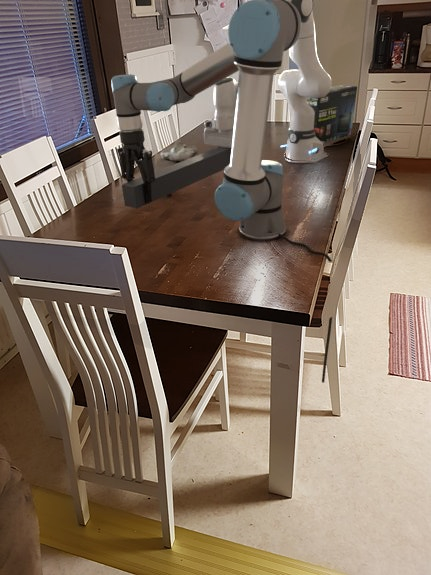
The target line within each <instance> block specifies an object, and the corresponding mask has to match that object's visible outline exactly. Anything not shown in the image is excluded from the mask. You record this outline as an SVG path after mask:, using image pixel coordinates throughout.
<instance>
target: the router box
mask: <svg viewBox="0 0 431 575" xmlns="http://www.w3.org/2000/svg"><path fill="white" fill-rule="evenodd" d="M357 93H358V86H356V85H350V84H339V85H338V84H337V85H334V86H331V89H330V91H329V93H328V94H327V95H326V96H325V97H320V98H307V97H306V99H307V102H308V104H309V105H310V106H311V107H312V108H313V109H314V112H315V116H314V129H315V128H318V129H319V133H316V132H315V134H316V137H317V138H318V139H319V140H320V141H321V142H322V143H323V144H325V143H328V142H331V141H333V140H336V139H338V138H341V137H344V136H347V135H351V136H352V134H351V132H353V125H354V115H355V109H356V99H357Z"/></svg>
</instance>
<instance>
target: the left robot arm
mask: <svg viewBox="0 0 431 575" xmlns="http://www.w3.org/2000/svg"><path fill="white" fill-rule="evenodd" d="M300 32H301V17H300V14H299V11H298V10H297V8H296V7H295V6H294V5H293V4H292V3H291V2H289V1H287V0H247V1H244V3H242V4H240V5H239V6H238V7H237V9H235V11H234V12H233V13H232V16H231V17H230V20H229V23H228V29H227V37H228V42H227V43H225V44H224V45H223V46H221V47H219V48H218V49H216V50H214V51H213V52H212V53H210V54H208V55H207V56H205V57H203V58H202V59H201V60H199V61H198V62H196V63H194V64H192V65H191V66H189V67H188V68H187V69H185V70H183V71H182V72H180V73H178V74H177V75H176V76H173V77H171V78H166V79H162V80H157V81H152V82H139V81H138V80H137V76H136V74H131V73H130V74H119V75H114V76H112V78H111V90H112V91H111V92H112V97H113V101H114V102H113V103H114V107H115V108H114V109H115V113H116V114H115V115H116V121H117V128H118V130H119V139H120V143H121V144H122V146H121V147H118V148H116V151H117V152H116V153H117V154H118V158H119V166H120V173H121V174H120V175H121V178H122V179H125V181H126V183H127V182H130V181H133V180H135V179H136V177H135V164H136V165H137V167H138V170H139V173H140V177H142V179H143V182H144V183H143V184H142V186H143V194H144V200H145V204H146V205H148V204H150V203H149V202H151V203H152V197H151V193H152V188H151V182H154V181H155V174H154V172H155V169H154V163H153V162H154V161H153V151H152V150H147V149H146V147H145V145H144V142H145V141H146V140H145V131H144V129H143V127H144V125H143V117H142V111H148V112H149V111H150V112H157V113H160V112H168V111H170V110H171V109H172V107H173V106H176V105H179V104H185V103H188V102H190V101H192V100H193V99H195V97H196V96H197V95H199V94H200V93H202V92H204V91H206V90H207V89H209V88H211V87H212V86H213V87H214V85H215V84H216V83H218V82H220V81H221V80H223V79H225V78H227V77H230V76H232V75H233V74H235V73H237V72H238V81H237V82H238V89H237V99H236V109H235V119H234V129H233V139H232V149H231V159H230V164H229V165H228V166H226V167H225V168H224V170H223V175H222V183H221V184H220V185H218V187H217V188H216V189H215V192H214V204H215V207H216V208H217V210H218V211H219V212H220V214H221V215H222V216H223V217H224V218H226V219H228V220H229V221H232V222H239V226H238V232H239V235H240V236H241V237H242V238H244V239H247V240H250V241H254V242H271V241H277V240H279V239H283V240H284V241H286V242H287V243H288V244H291V245H293V246H300V247H303V248H305V249H306V250H307V251H308V252H310V253H311V254H314V255H318V256H323V257H324V258H325V259H326V260H327V261H328V262H330V263H332V262H333V260H332V258H331V257H330V256H329V255H328V254H327V253H326V252H322V251H317V250H313V249H312V248H311V247H310V246H309V245H308V244H306V243H302V242H297V241H293V240H291V239H289V238H288V237H286V236H285V235H286V234H287V223H286V221H285V216H284V214H283V210H282V200H283V183H284V168H283V164H282V163H280V162H278V161H275V160H270V159H263V154H264V147H265V140H266V133H267V126H268V118H269V111H270V105H271V97H272V90H273V85H274V84H273V83H274V78H275V77H274V76H275V73H276V72H277V71H279V70H280V69H281V68H282V64H283V57H284V52H286V51H289V48H291V47H292V46H293V45H294V44H295V43H296V41H297V40H298V38H299V35H300ZM147 203H148V204H147ZM332 323H333V316H330V317H329V319H328V327H327V335H326V343H325V351H324V358H323V366H322V375H321V383H325V380H326V370H327V362H328V354H329V346H330V339H331V338H330V337H331V331H332Z"/></svg>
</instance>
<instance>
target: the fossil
mask: <svg viewBox="0 0 431 575" xmlns="http://www.w3.org/2000/svg"><path fill="white" fill-rule="evenodd" d="M198 153H199V150H198V148H197V146H195V145H188V146H187V145H186V143H184V142H183V143H181V142H176V143H175V145H174V146H173V147H172V148H171V149H170V150H168V149H165V150H162V151H161V152H160V156H161V158H162V159H163V160H169V161H174V162H177V161H179V162H182V161H184V160H187V159H189V158H192V157H194V155H197V154H198Z"/></svg>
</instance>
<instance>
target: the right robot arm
mask: <svg viewBox="0 0 431 575" xmlns="http://www.w3.org/2000/svg"><path fill="white" fill-rule="evenodd" d="M287 1H289V2H291V3H292V4H293V5H294V6H295V7H296V8H297V10H298V11H299V14H300V17H301V32H300V35H299V38H298V40H297V41H296V43H295V44H294V45H293V46H292V47H291V48H289V49H288V52H289V58H290V60H291V61H292V62H293V63H294V64H296V66H297V67H298V68H297V69H293V68H292V69H288V70H284V71H282V72H281V74H280V75H279V78H278V82H277V85H278V90H279V91H280V92H281V94H282V95H283V96H284V98H285V100H286V102H287V105H288V109H289V128H288V130H287V134H288V135H287V136H288V138H287V142H286V144H283V145H280V148H284V147H286V149H285V153H286V157H287V158H289V159H292V160H311V158H313V157H315V156H317V155H319V154H321V153H323V152H325V151H324V149H325V148H324V145H323V143H322V142H321V141H320V140H319V139H318V138H317V137H316V134H315V132H316V133H319V129H318V128H315V129H314V116H315V112H314V109H313V108H312V107H311V106H310V105H309V104H308V102H307V99H306V97H307V98H320V97H325V96H326V95H327V94H328V93H329V91H330V89H331V87H332V85H333V84H332V82H333V81H332V78H331V76H330V74H329V73H328V72H327V71H326V70H325V69H324V68H323V66H322V64H321V63H320V60H319V57H318V53H317V44H316V43H317V42H316V26H315V19H314V13H313V9H314V0H287ZM237 89H238V81H236V80H235V79H234V78H233V77H230V76H228V77H227V78H225V79H223V80H221V81H220V82H218V83H216V84H214V85H213V91H212V92H213V93H212V94H213V95H212V96H213V97H212V98H213V99H212V100H213V108H214V114H213V118H211V119H209V120H207V121H204V122H203V127H204V130H203V142H204V144H205V146H211V147H214V149H215V148H218V147H224V148H231V149H232V139H233V129H234V119H235V109H236V99H237ZM357 135H360V132H358V134H357ZM328 156H329V154H328V155H326V156H324V157H322V158H320V159H318V160H316V159H313V160H316V161H291V160H288V159H286V158H285V155H284V154H283V157H284V160H285V161H286V162H289V163H295V164H316V163H318V162H319V161H322V160H323V159H325V158H327V157H328Z"/></svg>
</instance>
